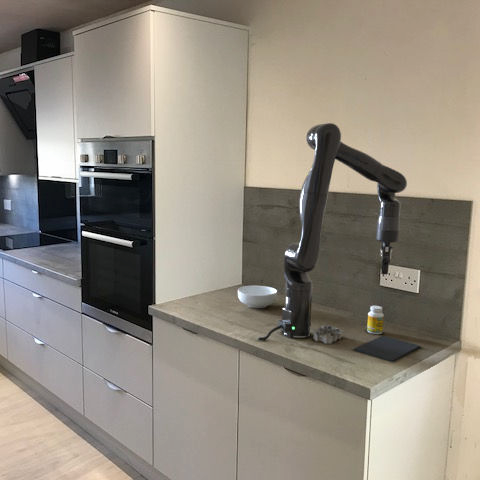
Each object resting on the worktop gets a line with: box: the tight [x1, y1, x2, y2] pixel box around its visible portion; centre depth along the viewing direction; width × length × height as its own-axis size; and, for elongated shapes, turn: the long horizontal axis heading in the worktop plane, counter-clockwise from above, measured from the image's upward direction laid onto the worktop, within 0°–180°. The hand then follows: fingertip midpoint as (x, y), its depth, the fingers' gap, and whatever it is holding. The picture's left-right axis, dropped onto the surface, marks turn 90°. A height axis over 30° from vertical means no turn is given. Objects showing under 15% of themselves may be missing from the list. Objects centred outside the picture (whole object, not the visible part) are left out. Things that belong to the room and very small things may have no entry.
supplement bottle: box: [366, 305, 385, 335], centre depth 193 cm, size 5×5×10 cm
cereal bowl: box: [237, 285, 278, 309], centre depth 226 cm, size 17×17×7 cm
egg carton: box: [311, 323, 344, 345], centre depth 186 cm, size 11×8×4 cm
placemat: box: [353, 335, 421, 363], centre depth 177 cm, size 20×13×1 cm, turn 131°
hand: (384, 271), depth 193 cm, fingers open, 8 cm apart
